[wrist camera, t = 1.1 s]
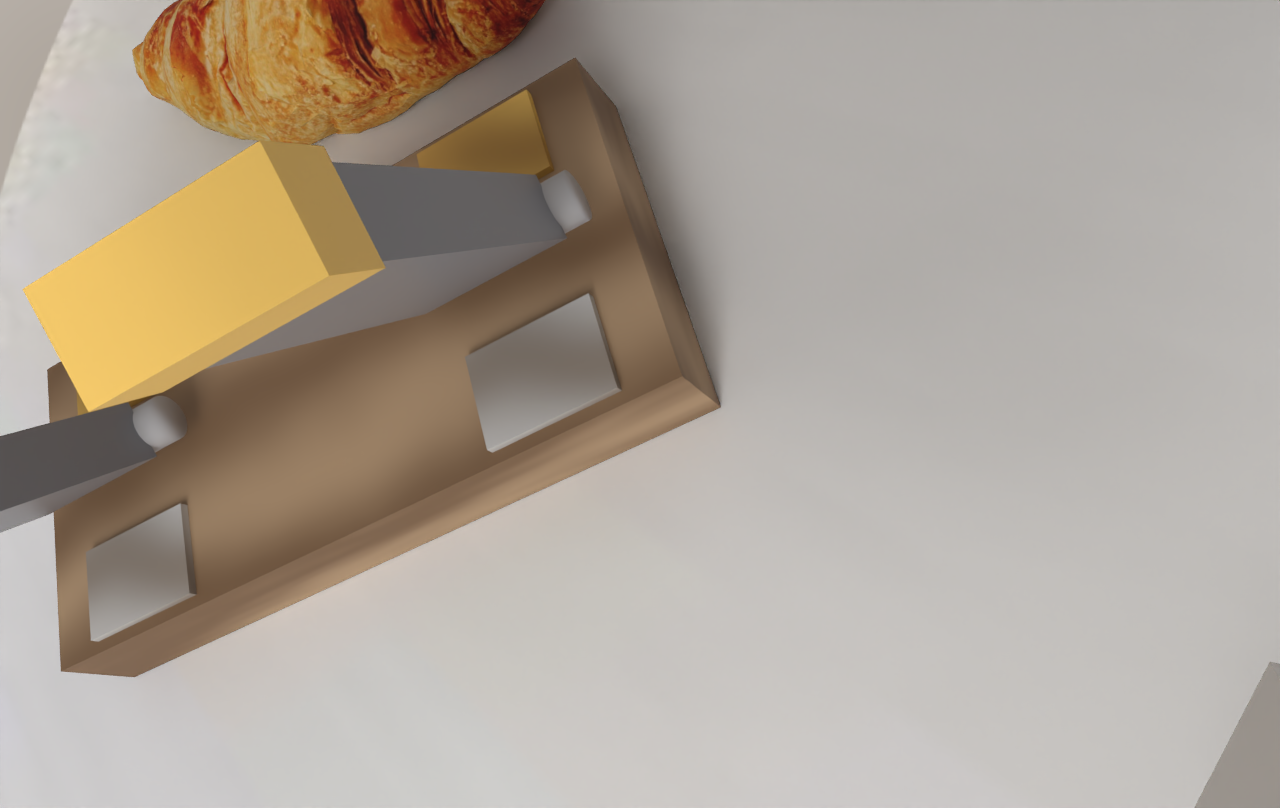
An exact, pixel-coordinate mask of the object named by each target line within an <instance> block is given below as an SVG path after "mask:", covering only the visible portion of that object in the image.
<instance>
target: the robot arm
mask: <svg viewBox="0 0 1280 808" xmlns="http://www.w3.org/2000/svg"><path fill="white" fill-rule="evenodd" d="M1195 808H1280V664H1277V663H1272V662H1270V663H1269V665H1268V667H1267V669H1266V671H1265V672H1264V674H1263V676H1262V678H1261V680H1260V682H1259V684H1258V686H1257V688H1256V690H1255V692H1254V694H1253V696H1252V698H1251V699H1250V701H1249V703H1248V705H1247V707H1246V709H1245V711H1244V713H1243V715H1242V717H1241V719H1240V721H1239V723H1238V725H1237V726H1236V728H1235V730H1234V732H1233V734H1232V736H1231V738H1230V740H1229V742H1228V744H1227V746H1226V748H1225V750H1224V752H1223V754H1222V755H1221V757H1220V759H1219V761H1218V763H1217V765H1216V767H1215V769H1214V771H1213V773H1212V775H1211V777H1210V779H1209V781H1208V782H1207V784H1206V786H1205V788H1204V790H1203V792H1202V794H1201V796H1200V798H1199V800H1198V802H1197V804H1196V806H1195Z"/></svg>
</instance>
